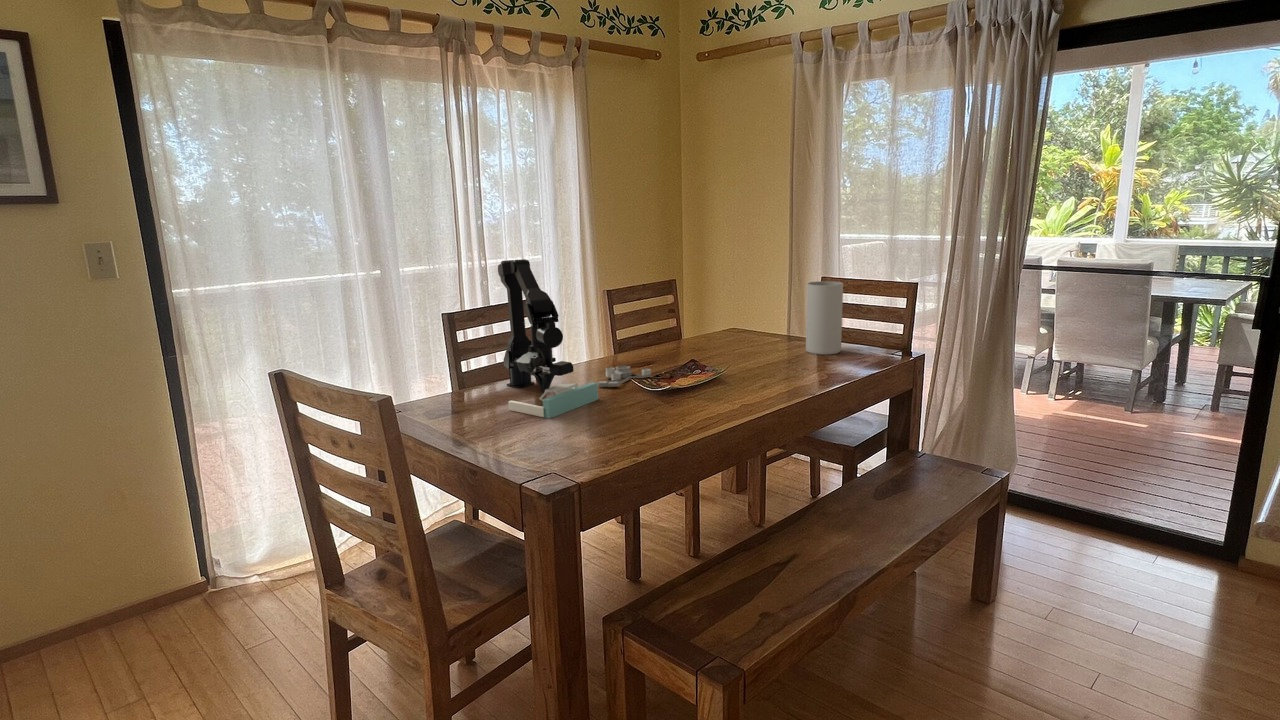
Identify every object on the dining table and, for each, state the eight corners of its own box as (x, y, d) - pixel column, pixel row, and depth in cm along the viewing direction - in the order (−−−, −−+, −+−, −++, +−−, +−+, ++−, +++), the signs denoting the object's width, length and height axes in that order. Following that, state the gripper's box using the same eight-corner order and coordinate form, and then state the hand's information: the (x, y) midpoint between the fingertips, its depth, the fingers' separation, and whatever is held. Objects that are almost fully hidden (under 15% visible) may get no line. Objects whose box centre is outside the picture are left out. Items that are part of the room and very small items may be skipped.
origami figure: (563, 395, 212) (562, 380, 211) (583, 400, 207) (582, 383, 206) (533, 405, 203) (532, 389, 202) (553, 410, 198) (552, 393, 197)
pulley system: (582, 384, 229) (605, 391, 216) (581, 369, 228) (604, 376, 215) (653, 374, 243) (678, 380, 230) (652, 360, 242) (678, 365, 230)
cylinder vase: (806, 355, 254) (808, 285, 249) (804, 347, 266) (806, 281, 261) (842, 355, 252) (845, 285, 247) (839, 347, 264) (841, 281, 259)
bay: (508, 409, 200) (507, 392, 199) (558, 392, 216) (557, 376, 215) (549, 418, 191) (548, 400, 190) (598, 399, 207) (597, 383, 206)
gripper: (497, 343, 200) (501, 396, 204) (545, 350, 190) (549, 406, 193) (525, 336, 209) (529, 387, 213) (573, 342, 198) (576, 396, 202)
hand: (544, 394), depth 205 cm, fingers closed
